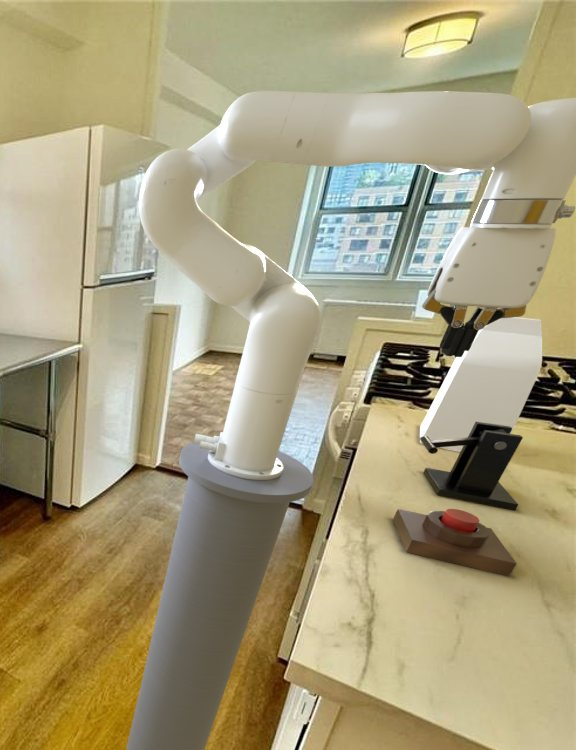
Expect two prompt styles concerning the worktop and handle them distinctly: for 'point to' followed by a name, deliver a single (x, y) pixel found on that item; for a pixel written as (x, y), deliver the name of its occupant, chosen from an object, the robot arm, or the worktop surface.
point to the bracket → (479, 469)
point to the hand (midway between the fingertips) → (451, 354)
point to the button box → (452, 542)
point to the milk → (487, 381)
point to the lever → (451, 441)
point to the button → (460, 520)
